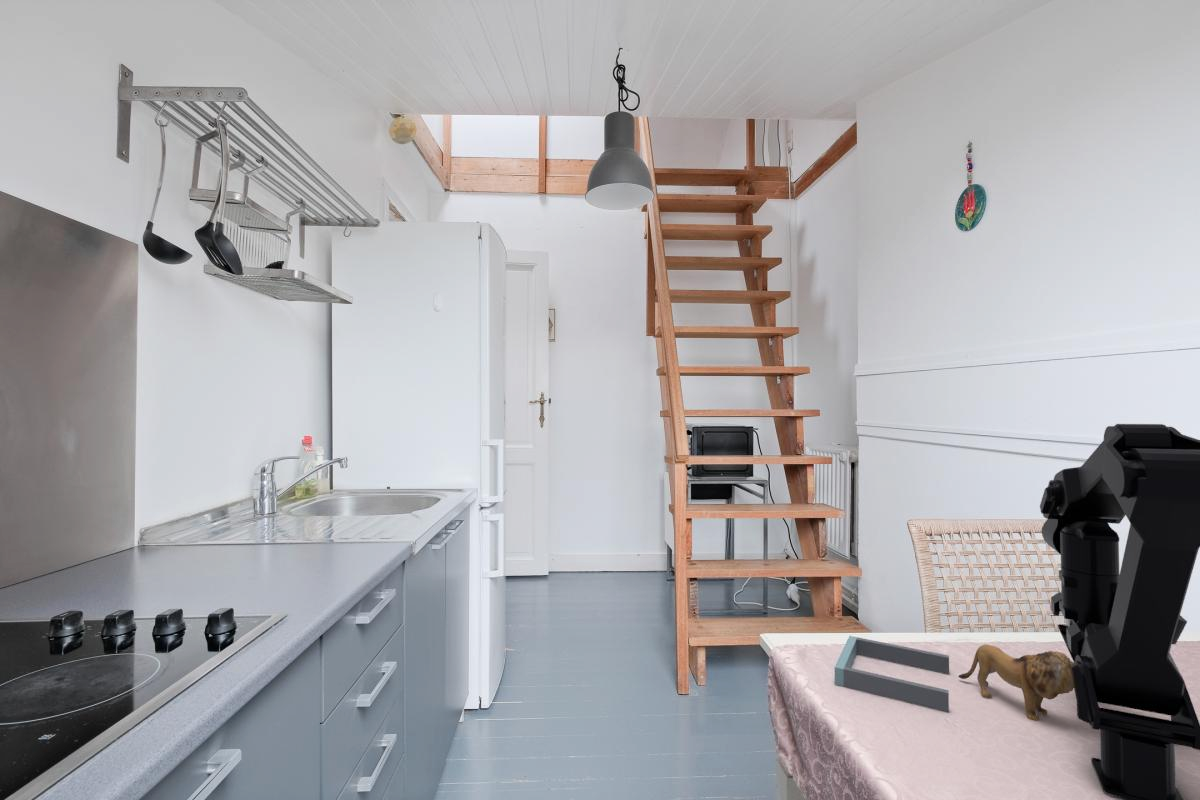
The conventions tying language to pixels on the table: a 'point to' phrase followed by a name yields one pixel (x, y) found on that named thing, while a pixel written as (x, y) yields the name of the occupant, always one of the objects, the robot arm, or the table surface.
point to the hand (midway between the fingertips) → (1092, 691)
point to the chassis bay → (890, 685)
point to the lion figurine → (1025, 675)
